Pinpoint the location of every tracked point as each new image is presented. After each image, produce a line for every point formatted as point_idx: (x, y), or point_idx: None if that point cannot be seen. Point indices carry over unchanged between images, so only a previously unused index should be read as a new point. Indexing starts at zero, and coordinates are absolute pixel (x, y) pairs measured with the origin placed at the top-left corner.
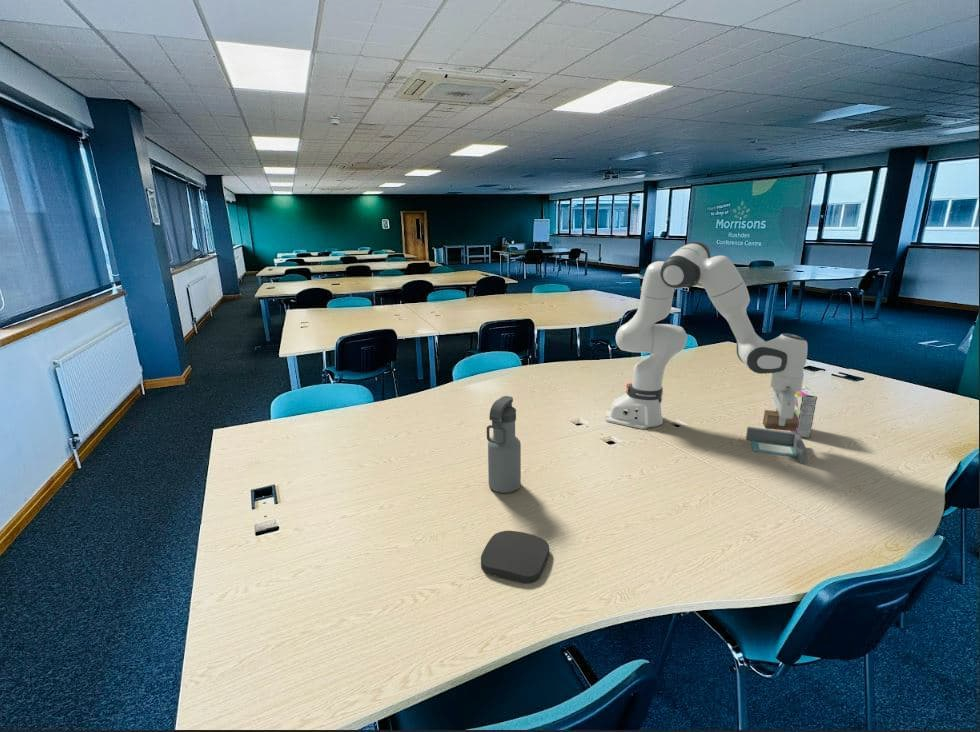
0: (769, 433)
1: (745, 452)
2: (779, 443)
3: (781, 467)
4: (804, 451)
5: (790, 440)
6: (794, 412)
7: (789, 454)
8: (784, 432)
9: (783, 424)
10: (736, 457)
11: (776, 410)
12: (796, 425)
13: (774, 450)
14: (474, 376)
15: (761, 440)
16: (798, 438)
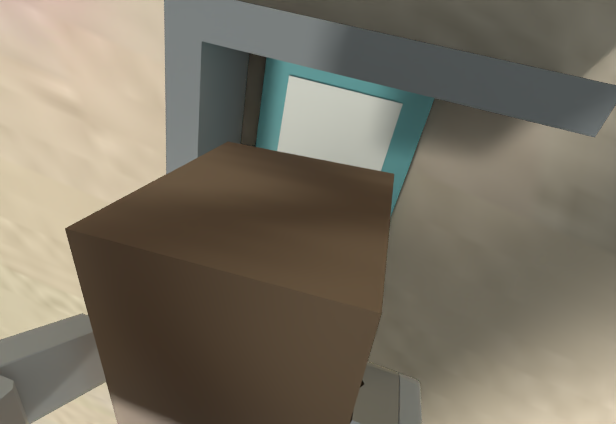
0: None
1: (376, 336)
2: (239, 124)
3: (582, 254)
4: (607, 115)
5: (231, 63)
6: None
7: (404, 131)
8: (190, 120)
9: (415, 400)
10: (434, 390)
11: (76, 395)
12: (389, 215)
13: None
14: None
15: None
16: (294, 43)
